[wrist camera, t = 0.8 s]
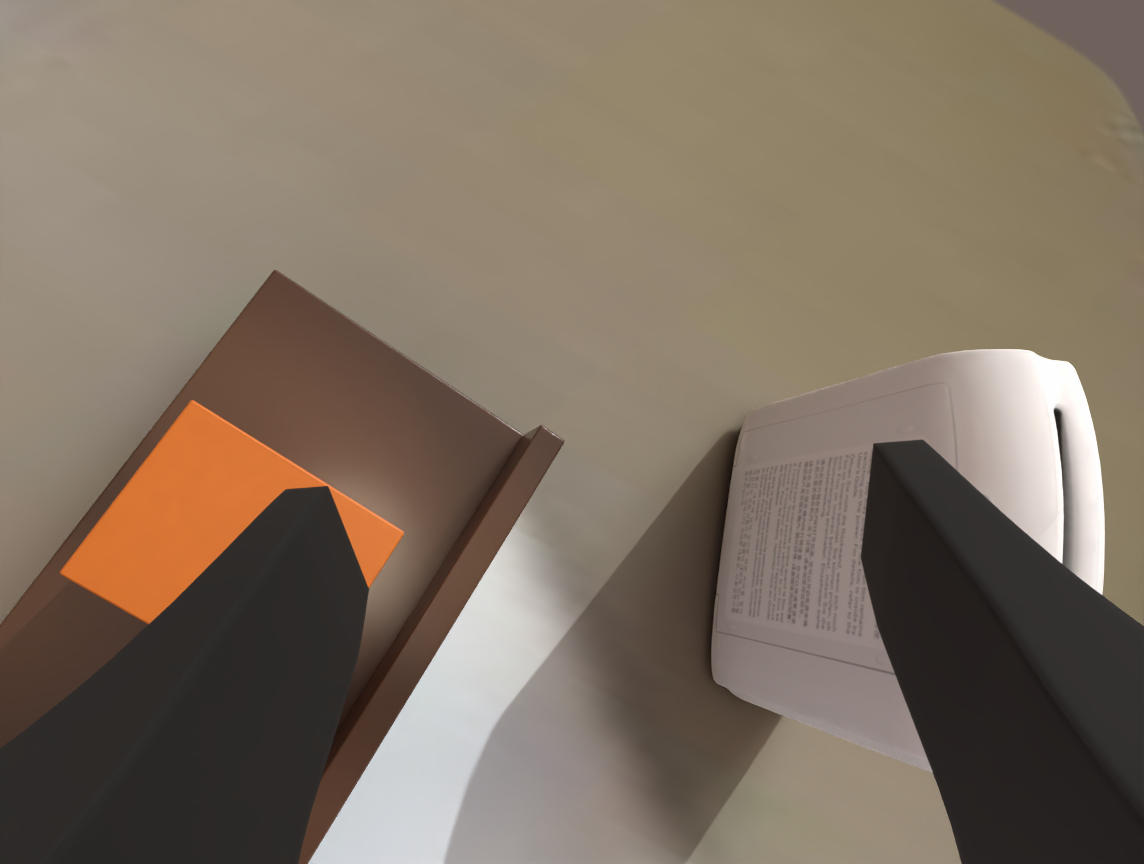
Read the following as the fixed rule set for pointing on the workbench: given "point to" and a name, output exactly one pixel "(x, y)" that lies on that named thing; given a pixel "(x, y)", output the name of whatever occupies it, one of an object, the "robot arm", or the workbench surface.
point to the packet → (200, 515)
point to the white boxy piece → (837, 515)
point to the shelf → (347, 463)
